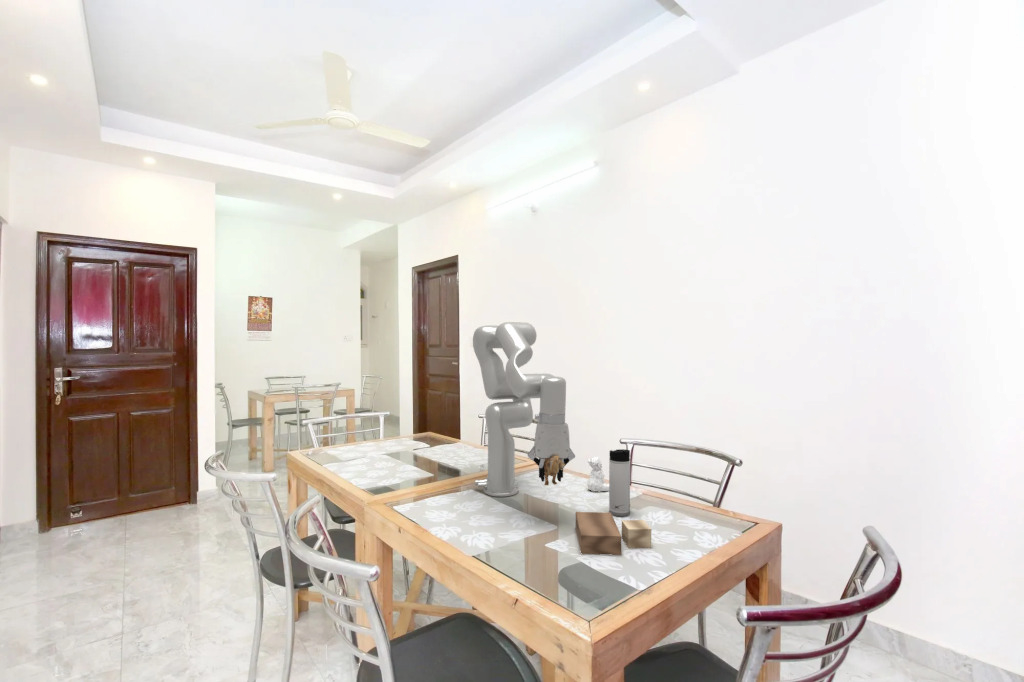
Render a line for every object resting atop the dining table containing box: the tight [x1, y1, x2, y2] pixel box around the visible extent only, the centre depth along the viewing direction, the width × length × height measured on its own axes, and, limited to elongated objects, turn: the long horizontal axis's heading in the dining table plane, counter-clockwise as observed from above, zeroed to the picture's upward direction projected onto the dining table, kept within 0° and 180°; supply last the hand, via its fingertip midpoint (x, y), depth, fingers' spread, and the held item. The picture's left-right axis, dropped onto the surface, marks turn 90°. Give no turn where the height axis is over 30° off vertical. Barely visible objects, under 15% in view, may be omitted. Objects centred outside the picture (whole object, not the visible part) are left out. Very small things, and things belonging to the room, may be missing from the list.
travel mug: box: [608, 449, 631, 518], centre depth 141 cm, size 6×7×20 cm
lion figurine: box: [544, 456, 566, 486], centre depth 136 cm, size 15×5×9 cm, turn 15°
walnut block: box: [575, 511, 622, 556], centre depth 122 cm, size 10×16×5 cm, turn 177°
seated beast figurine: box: [586, 456, 609, 492], centre depth 164 cm, size 10×9×12 cm
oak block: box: [621, 519, 652, 549], centre depth 120 cm, size 6×6×5 cm
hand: (550, 479), depth 135 cm, fingers closed on lion figurine, 4 cm apart
